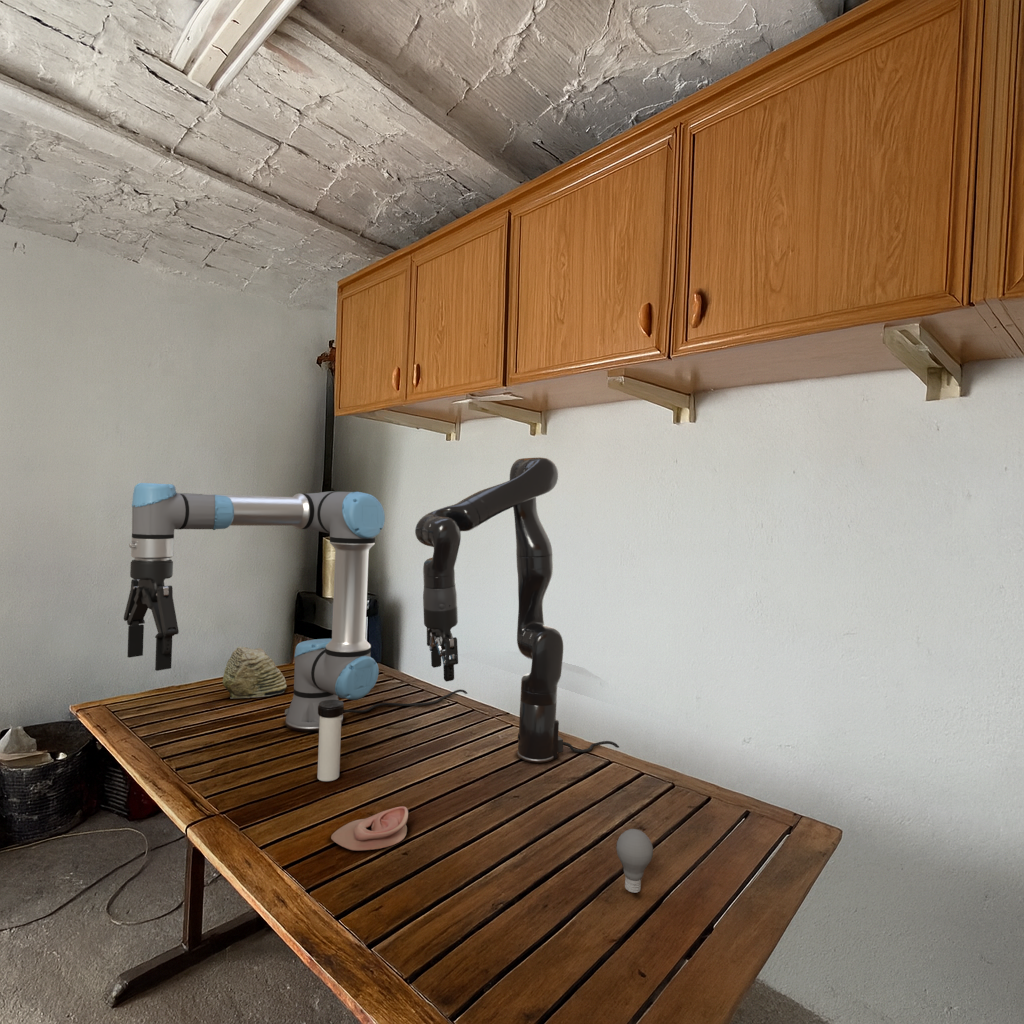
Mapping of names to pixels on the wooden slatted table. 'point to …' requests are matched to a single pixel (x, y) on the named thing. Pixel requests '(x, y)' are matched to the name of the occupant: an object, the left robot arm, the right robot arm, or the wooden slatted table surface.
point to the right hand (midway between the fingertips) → (442, 673)
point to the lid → (331, 708)
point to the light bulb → (634, 857)
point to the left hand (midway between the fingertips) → (148, 662)
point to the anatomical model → (374, 830)
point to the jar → (329, 748)
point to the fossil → (252, 674)
